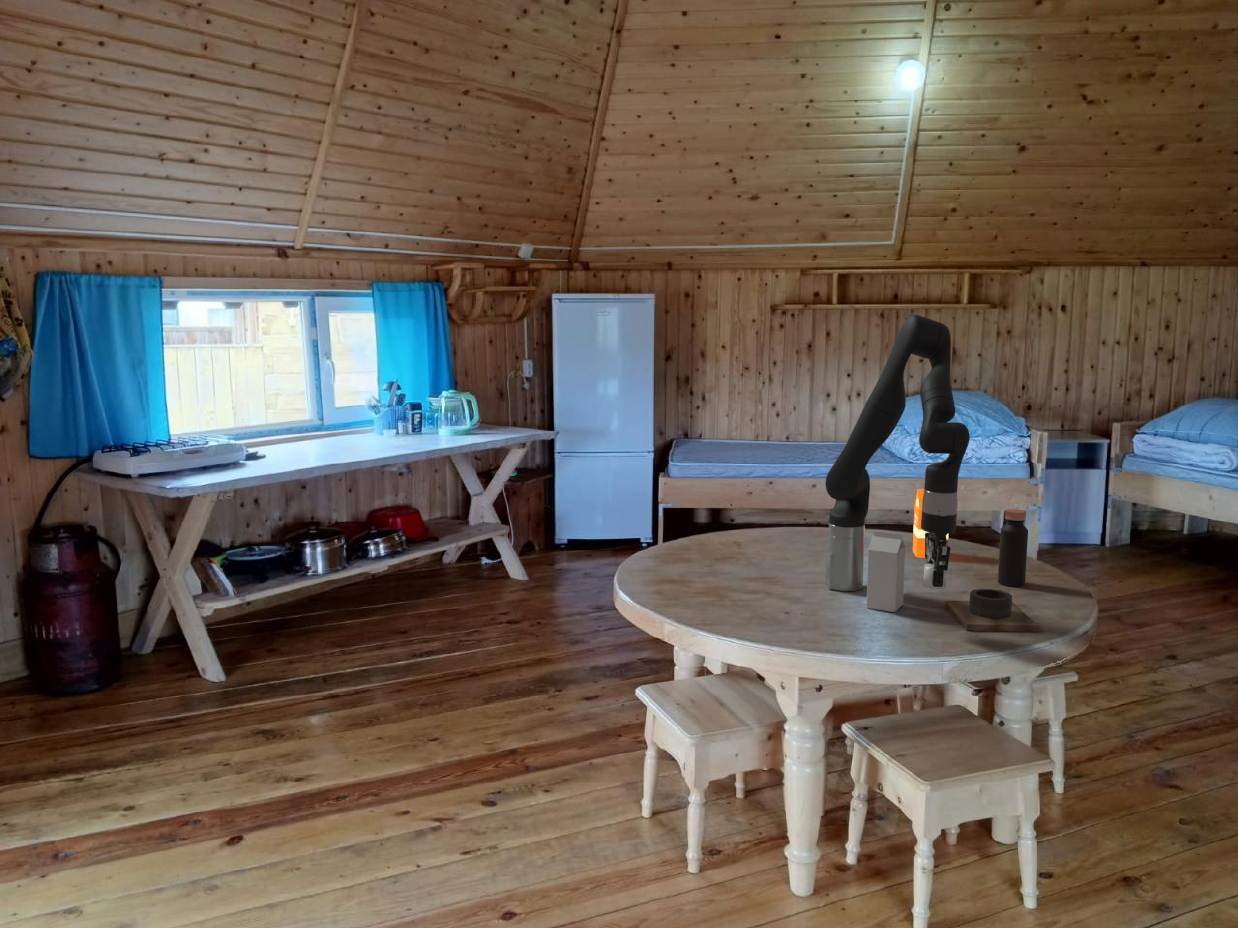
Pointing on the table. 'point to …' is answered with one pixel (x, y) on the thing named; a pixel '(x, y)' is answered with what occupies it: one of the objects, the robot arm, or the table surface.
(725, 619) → the table surface
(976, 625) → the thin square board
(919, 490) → the orange juice
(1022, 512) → the bottle
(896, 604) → the milk carton
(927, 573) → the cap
